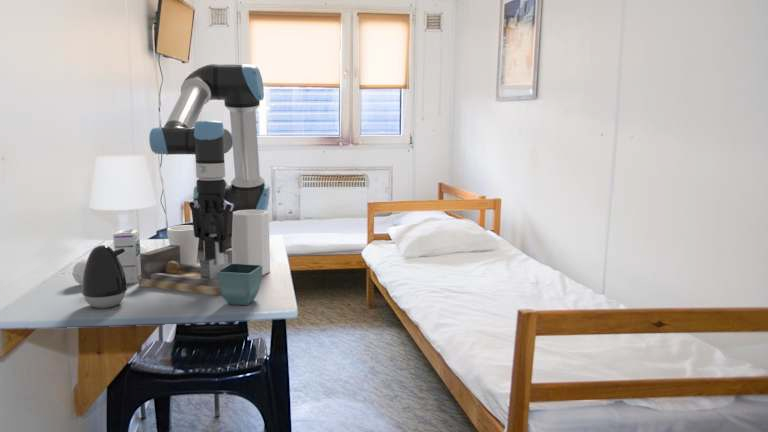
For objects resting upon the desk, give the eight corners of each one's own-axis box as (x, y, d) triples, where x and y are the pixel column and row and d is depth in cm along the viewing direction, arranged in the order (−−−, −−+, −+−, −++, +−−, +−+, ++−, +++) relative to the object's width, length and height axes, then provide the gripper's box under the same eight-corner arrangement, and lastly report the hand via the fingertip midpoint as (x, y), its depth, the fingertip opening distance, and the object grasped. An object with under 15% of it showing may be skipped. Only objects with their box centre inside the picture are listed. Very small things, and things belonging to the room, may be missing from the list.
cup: (267, 277, 180) (266, 214, 177) (229, 277, 179) (227, 215, 176) (272, 267, 191) (270, 209, 188) (235, 268, 190) (233, 209, 187)
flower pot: (251, 308, 150) (250, 273, 149) (217, 306, 152) (216, 271, 150) (264, 298, 159) (263, 264, 158) (231, 296, 160) (230, 263, 159)
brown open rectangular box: (139, 285, 170) (137, 254, 169) (172, 273, 183) (170, 244, 182) (218, 295, 161) (217, 262, 160) (247, 282, 174) (246, 251, 173)
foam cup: (191, 274, 183) (189, 231, 181) (163, 272, 185) (161, 229, 183) (206, 266, 192) (205, 225, 190) (179, 265, 194) (177, 224, 192)
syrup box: (138, 283, 173) (135, 232, 170) (116, 284, 172) (112, 233, 169) (142, 278, 178) (139, 229, 176) (121, 279, 177) (118, 229, 175)
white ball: (105, 280, 175) (103, 255, 174) (99, 287, 168) (97, 261, 167) (67, 282, 173) (65, 257, 172) (59, 289, 166) (57, 263, 165)
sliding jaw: (200, 281, 166) (199, 237, 164) (219, 274, 174) (217, 232, 172) (210, 282, 165) (208, 238, 163) (228, 275, 173) (226, 233, 171)
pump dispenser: (120, 311, 148) (116, 249, 146) (76, 311, 147) (71, 250, 145) (134, 298, 158) (130, 241, 156) (92, 299, 157) (88, 241, 155)
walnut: (171, 272, 177) (170, 258, 176) (182, 273, 175) (182, 260, 175) (162, 275, 173) (161, 261, 172) (173, 277, 172) (173, 263, 171)
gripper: (177, 178, 164) (181, 264, 168) (228, 181, 159) (231, 269, 162) (194, 176, 171) (198, 258, 175) (244, 178, 166) (247, 263, 169)
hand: (214, 263), depth 169 cm, fingers closed on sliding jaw, 3 cm apart
